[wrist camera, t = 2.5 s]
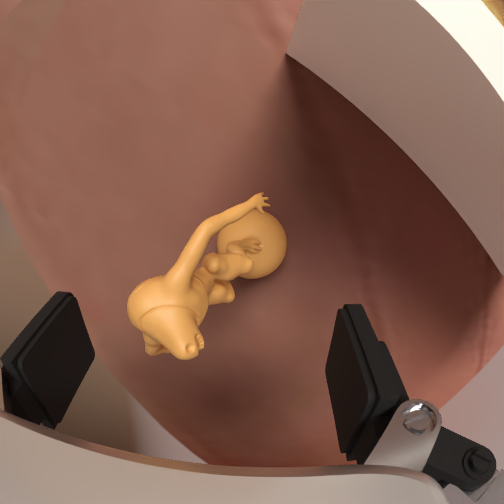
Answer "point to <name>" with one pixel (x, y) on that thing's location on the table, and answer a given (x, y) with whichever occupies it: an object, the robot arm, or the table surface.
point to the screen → (422, 90)
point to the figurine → (206, 277)
